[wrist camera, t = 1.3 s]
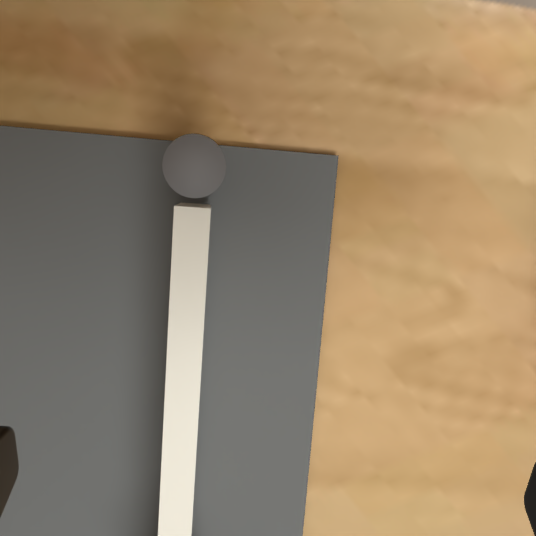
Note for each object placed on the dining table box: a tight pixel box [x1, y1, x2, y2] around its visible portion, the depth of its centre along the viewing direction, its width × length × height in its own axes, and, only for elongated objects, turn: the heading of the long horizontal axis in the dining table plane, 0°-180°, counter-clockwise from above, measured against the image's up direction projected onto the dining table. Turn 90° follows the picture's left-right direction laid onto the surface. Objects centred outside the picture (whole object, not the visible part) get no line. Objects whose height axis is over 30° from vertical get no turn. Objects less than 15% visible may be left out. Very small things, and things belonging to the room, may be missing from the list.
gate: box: [158, 202, 211, 536], centre depth 20 cm, size 18×2×5 cm, turn 176°
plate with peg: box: [0, 126, 338, 536], centre depth 20 cm, size 23×23×6 cm
